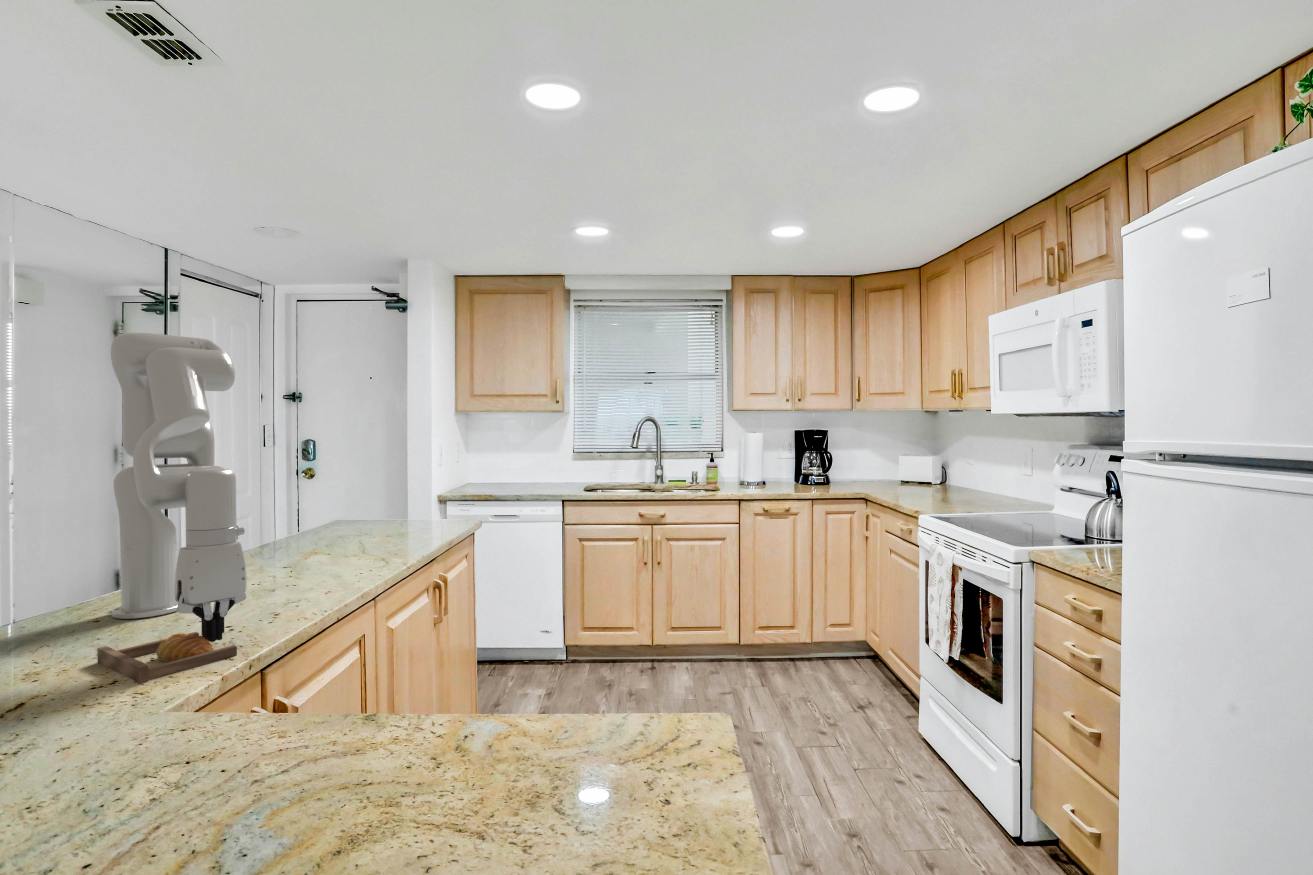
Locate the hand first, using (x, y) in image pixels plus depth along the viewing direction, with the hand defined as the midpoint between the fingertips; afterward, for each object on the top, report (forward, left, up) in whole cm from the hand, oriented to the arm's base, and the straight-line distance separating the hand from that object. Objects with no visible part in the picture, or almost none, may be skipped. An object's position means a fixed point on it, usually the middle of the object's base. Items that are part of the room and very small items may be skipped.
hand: (213, 639), depth 115 cm
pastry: (+1, -4, -2) cm, 5 cm away
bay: (0, -6, -2) cm, 6 cm away
